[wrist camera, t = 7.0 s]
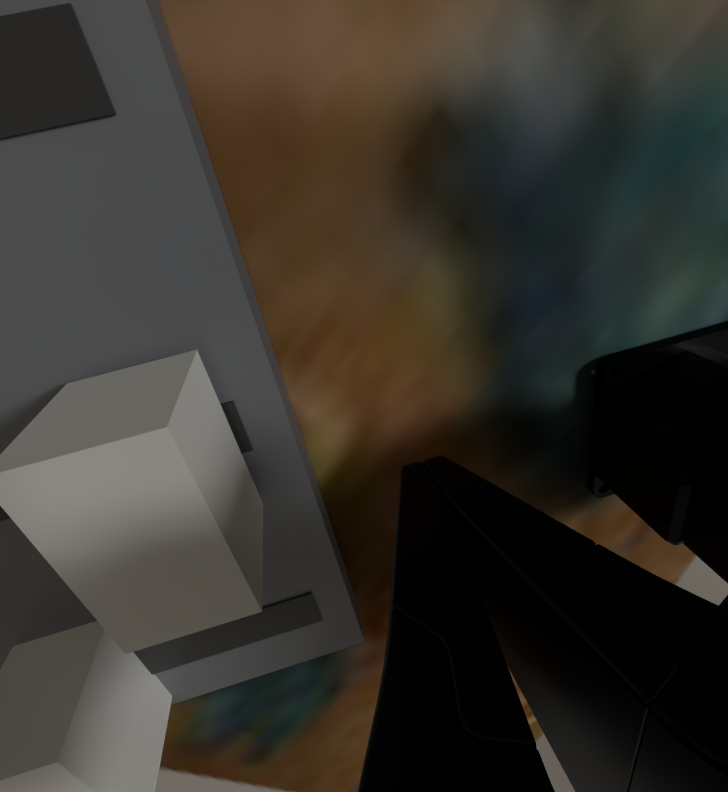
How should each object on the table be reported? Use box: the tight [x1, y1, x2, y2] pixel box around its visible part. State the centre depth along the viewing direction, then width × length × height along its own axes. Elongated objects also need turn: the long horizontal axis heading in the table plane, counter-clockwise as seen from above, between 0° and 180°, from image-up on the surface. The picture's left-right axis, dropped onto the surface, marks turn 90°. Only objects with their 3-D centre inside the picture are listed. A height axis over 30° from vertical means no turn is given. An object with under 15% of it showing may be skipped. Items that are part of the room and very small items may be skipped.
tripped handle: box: [0, 350, 263, 654], centre depth 10 cm, size 3×5×4 cm, turn 12°
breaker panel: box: [0, 0, 365, 792], centre depth 10 cm, size 12×22×6 cm, turn 12°
